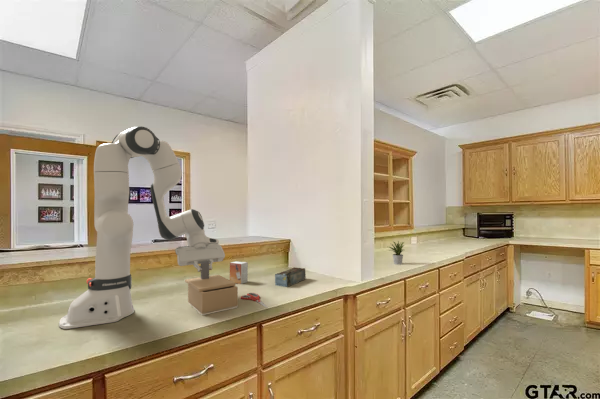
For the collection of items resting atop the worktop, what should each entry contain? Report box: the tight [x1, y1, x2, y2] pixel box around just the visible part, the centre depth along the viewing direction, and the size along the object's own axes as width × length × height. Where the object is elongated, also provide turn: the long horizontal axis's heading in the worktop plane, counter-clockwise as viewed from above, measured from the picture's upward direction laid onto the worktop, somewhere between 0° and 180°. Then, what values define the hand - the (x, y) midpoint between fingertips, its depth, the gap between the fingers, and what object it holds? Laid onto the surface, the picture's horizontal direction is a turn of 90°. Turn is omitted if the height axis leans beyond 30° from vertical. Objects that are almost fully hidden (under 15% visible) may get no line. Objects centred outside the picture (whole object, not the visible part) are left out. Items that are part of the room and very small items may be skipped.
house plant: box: [388, 240, 405, 265], centre depth 208 cm, size 14×14×16 cm
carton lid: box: [185, 262, 236, 292], centre depth 123 cm, size 15×19×8 cm
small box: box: [229, 260, 249, 285], centre depth 157 cm, size 8×6×10 cm
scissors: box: [240, 292, 269, 309], centre depth 125 cm, size 8×21×2 cm, turn 45°
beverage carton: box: [274, 267, 307, 288], centre depth 157 cm, size 8×19×7 cm, turn 149°
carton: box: [187, 283, 239, 316], centre depth 120 cm, size 14×18×8 cm
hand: (205, 270), depth 127 cm, fingers closed on carton lid, 3 cm apart
